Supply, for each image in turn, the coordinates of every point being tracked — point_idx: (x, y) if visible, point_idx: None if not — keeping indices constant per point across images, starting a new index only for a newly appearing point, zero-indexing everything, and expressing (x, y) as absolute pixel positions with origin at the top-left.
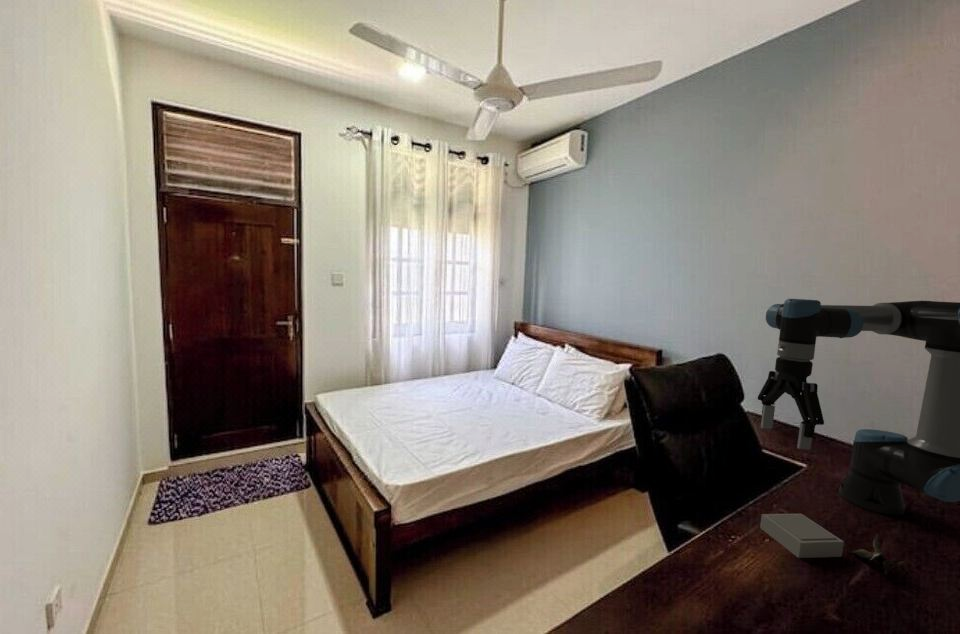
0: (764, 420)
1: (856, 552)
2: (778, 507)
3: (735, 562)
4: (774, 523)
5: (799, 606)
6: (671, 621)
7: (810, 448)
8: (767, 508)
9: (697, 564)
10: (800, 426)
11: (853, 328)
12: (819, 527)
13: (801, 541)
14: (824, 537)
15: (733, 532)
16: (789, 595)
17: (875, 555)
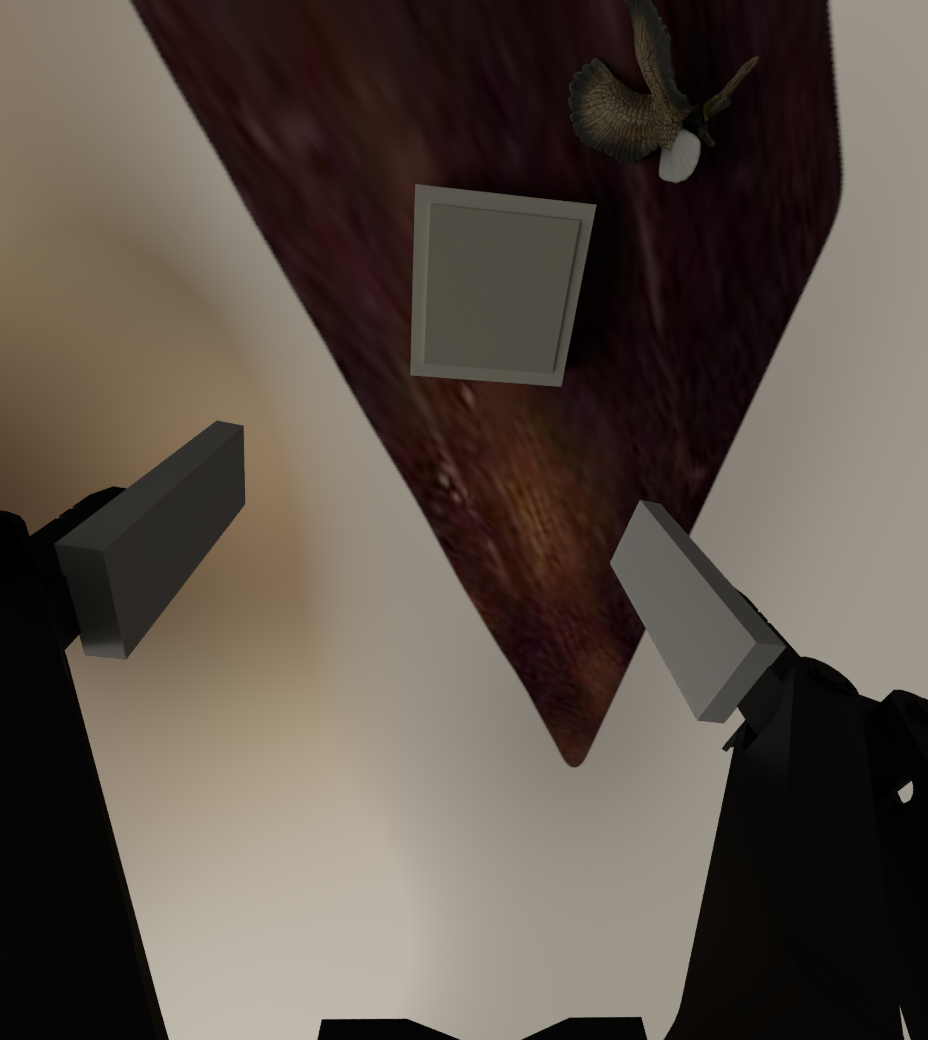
0: (215, 535)
1: (602, 147)
2: (275, 128)
3: (527, 541)
4: (463, 378)
5: None
6: (606, 700)
7: (664, 510)
8: (288, 203)
9: (516, 611)
10: (685, 689)
11: None
12: (515, 220)
13: (557, 377)
14: (565, 272)
15: (427, 464)
16: (631, 510)
17: (685, 168)
